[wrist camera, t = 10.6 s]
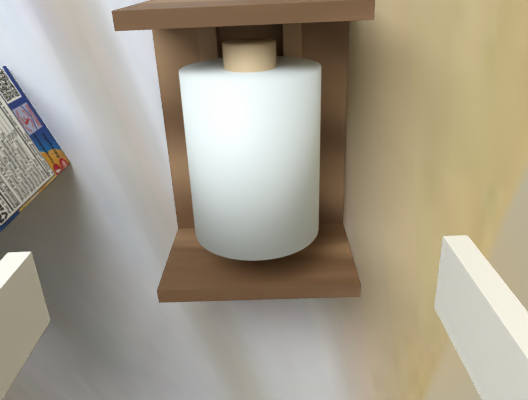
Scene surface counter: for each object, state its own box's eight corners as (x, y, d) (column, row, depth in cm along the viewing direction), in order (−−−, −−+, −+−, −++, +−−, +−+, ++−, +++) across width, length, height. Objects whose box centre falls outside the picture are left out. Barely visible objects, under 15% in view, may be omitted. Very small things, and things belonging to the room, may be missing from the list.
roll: (295, 211, 33) (337, 266, 26) (189, 227, 31) (208, 290, 25) (294, 29, 28) (345, 46, 22) (169, 38, 26) (185, 58, 20)
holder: (340, 226, 34) (360, 296, 27) (182, 231, 34) (159, 302, 27) (347, -9, 28) (375, -1, 20) (152, -1, 28) (111, 11, 21)
